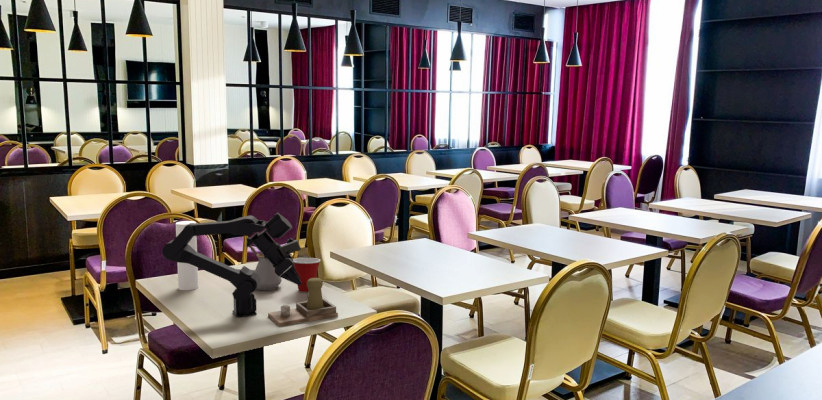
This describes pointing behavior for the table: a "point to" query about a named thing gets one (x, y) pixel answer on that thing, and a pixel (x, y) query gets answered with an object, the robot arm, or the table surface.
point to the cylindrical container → (185, 270)
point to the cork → (314, 294)
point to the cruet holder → (302, 313)
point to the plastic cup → (306, 270)
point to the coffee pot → (266, 273)
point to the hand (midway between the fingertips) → (300, 282)
